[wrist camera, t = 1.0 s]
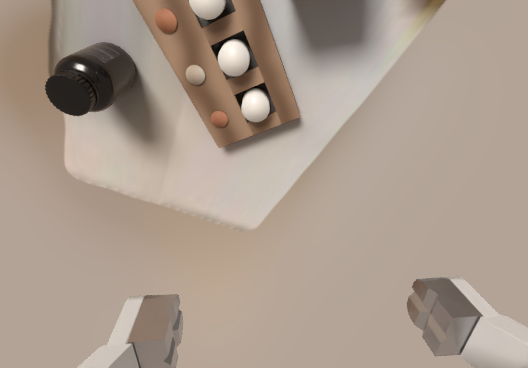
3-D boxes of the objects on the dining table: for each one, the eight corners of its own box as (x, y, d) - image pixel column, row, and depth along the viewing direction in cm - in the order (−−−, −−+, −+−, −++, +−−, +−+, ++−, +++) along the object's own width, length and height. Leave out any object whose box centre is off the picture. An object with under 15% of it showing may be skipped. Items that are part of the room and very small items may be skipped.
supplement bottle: (78, 60, 40) (20, 87, 30) (108, 30, 38) (56, 48, 28) (117, 99, 43) (76, 134, 34) (147, 74, 41) (113, 103, 31)
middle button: (242, 33, 36) (241, 37, 34) (254, 63, 38) (254, 69, 36) (215, 46, 37) (212, 51, 35) (228, 74, 39) (226, 81, 37)
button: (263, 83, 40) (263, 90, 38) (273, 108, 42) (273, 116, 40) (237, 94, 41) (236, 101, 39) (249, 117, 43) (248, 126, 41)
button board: (235, -69, 32) (233, -73, 29) (298, 109, 45) (300, 117, 42) (135, -12, 35) (125, -11, 32) (221, 139, 48) (218, 149, 45)
